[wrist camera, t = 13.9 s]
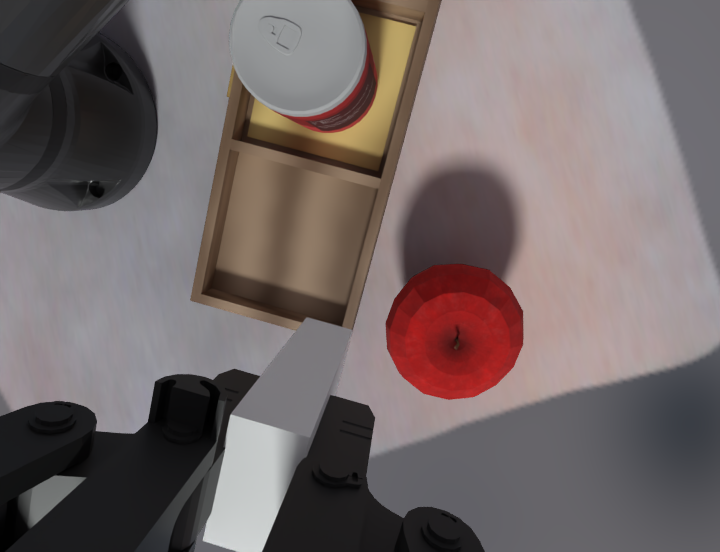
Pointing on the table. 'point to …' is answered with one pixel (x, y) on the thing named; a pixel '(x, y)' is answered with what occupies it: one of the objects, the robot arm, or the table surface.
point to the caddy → (310, 189)
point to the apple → (454, 331)
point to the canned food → (305, 60)
